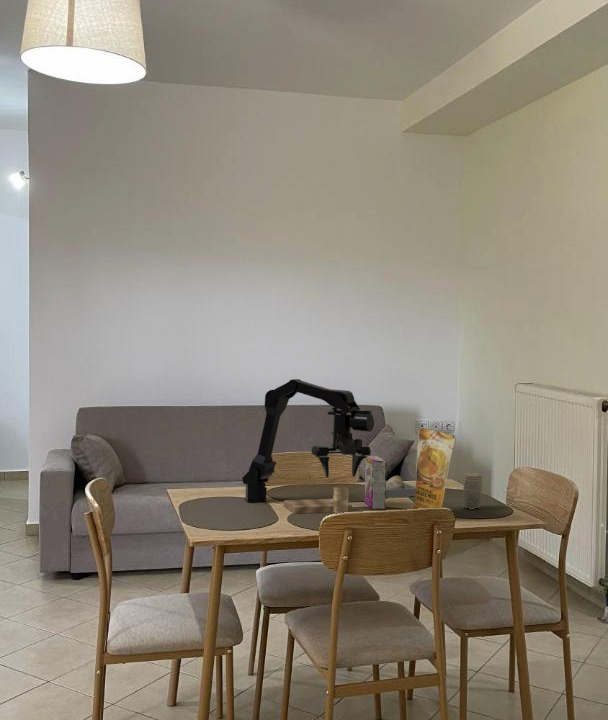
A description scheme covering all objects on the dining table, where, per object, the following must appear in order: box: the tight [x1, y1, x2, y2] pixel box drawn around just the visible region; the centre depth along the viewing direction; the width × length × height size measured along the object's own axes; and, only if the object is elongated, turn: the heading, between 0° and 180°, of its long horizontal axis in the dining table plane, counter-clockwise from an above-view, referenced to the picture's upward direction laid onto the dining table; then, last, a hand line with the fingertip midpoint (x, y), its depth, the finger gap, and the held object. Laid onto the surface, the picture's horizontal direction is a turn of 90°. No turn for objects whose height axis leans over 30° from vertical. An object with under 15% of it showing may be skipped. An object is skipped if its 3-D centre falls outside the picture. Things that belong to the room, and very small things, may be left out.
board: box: [283, 498, 353, 515], centre depth 279 cm, size 20×12×2 cm, turn 109°
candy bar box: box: [364, 455, 387, 510], centre depth 286 cm, size 11×5×16 cm, turn 9°
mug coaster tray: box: [385, 482, 416, 498], centre depth 311 cm, size 15×14×3 cm
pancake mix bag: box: [413, 427, 457, 510], centre depth 273 cm, size 7×19×28 cm, turn 23°
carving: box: [461, 472, 483, 509], centre depth 287 cm, size 6×8×12 cm
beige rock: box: [386, 475, 405, 489], centre depth 309 cm, size 8×10×10 cm
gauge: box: [329, 486, 350, 514], centre depth 275 cm, size 4×9×8 cm, turn 18°
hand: (340, 476), depth 273 cm, fingers open, 9 cm apart
